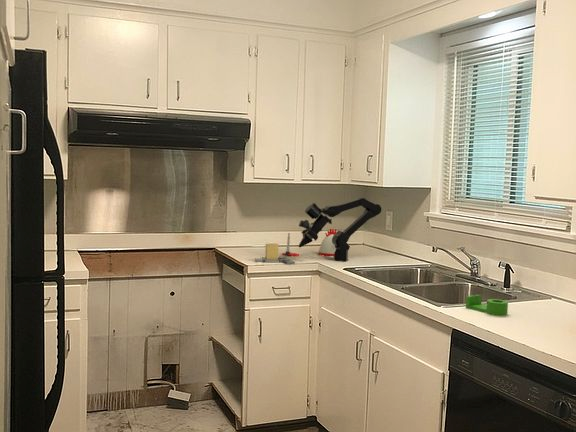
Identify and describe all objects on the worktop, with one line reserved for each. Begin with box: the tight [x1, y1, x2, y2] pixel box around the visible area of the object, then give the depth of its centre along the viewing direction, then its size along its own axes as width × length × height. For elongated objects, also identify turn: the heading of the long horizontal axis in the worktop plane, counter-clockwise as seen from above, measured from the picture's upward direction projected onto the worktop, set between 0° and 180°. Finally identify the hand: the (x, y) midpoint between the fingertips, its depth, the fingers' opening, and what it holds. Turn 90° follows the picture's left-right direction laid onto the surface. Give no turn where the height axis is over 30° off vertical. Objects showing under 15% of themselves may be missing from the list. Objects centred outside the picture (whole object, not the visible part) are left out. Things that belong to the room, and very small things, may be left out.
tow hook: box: [281, 232, 300, 258], centre depth 354 cm, size 8×13×9 cm
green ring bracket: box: [465, 294, 509, 317], centre depth 230 cm, size 15×7×5 cm, turn 33°
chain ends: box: [254, 256, 296, 265], centre depth 327 cm, size 18×15×2 cm
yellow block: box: [264, 243, 280, 261], centre depth 330 cm, size 6×4×9 cm, turn 105°
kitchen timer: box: [318, 228, 339, 257], centre depth 360 cm, size 14×14×15 cm
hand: (299, 246), depth 333 cm, fingers closed
